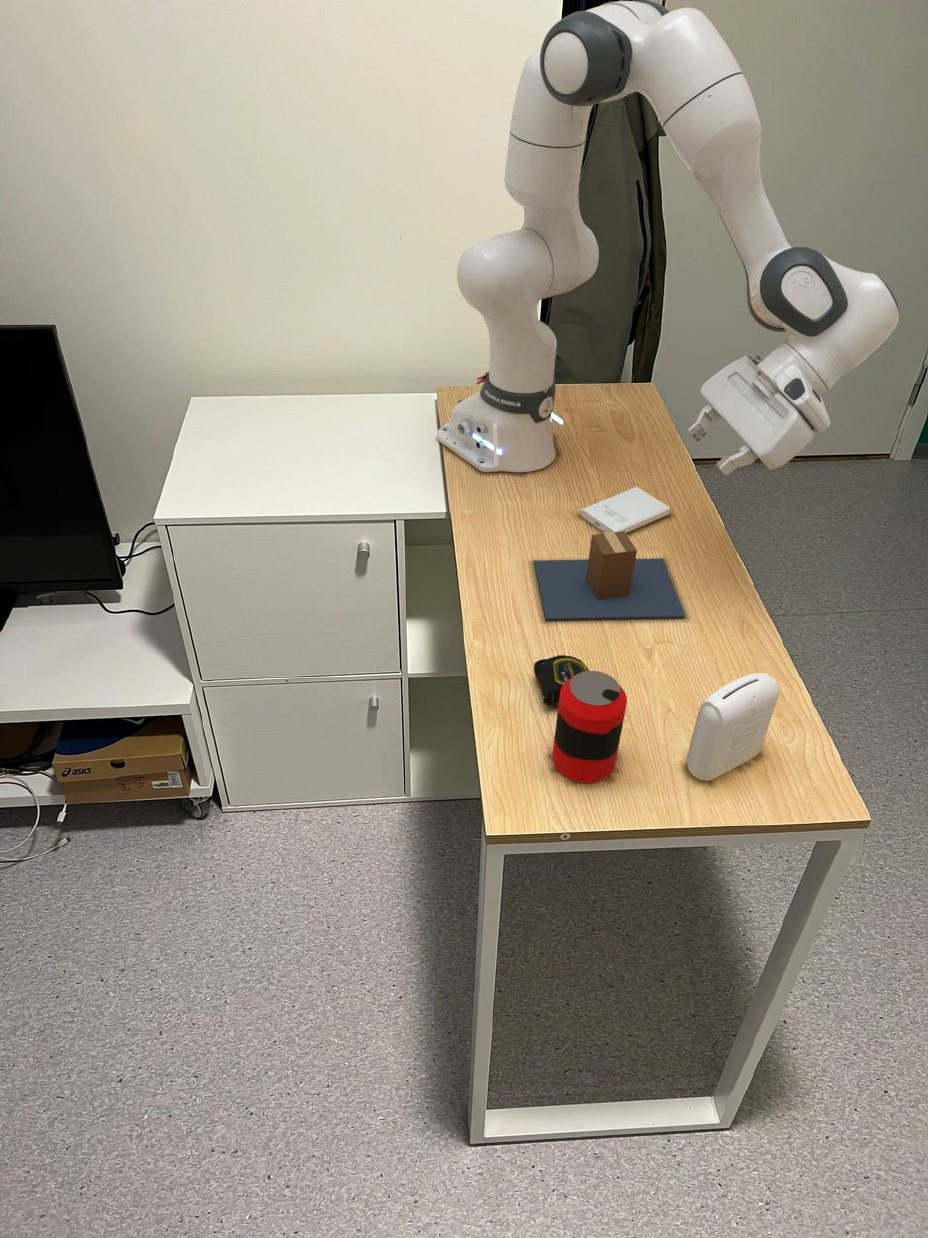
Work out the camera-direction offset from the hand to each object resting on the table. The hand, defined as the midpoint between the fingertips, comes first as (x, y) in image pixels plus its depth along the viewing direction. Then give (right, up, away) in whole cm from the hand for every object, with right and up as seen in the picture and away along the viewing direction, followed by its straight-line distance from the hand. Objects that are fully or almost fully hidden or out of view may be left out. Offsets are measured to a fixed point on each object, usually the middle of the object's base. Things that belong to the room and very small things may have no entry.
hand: (705, 452), depth 133 cm
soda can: (-19, -40, -17) cm, 48 cm away
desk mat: (-12, -19, +9) cm, 24 cm away
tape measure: (-21, -33, -8) cm, 40 cm away
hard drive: (-7, -6, +25) cm, 27 cm away
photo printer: (-2, -40, -16) cm, 43 cm away
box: (-12, -18, +9) cm, 24 cm away
